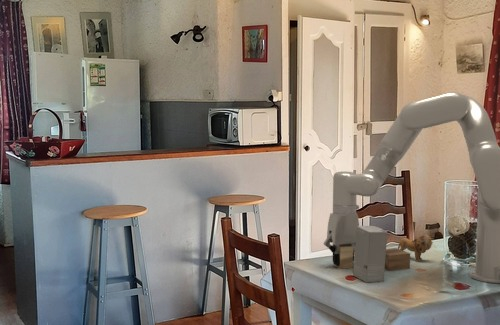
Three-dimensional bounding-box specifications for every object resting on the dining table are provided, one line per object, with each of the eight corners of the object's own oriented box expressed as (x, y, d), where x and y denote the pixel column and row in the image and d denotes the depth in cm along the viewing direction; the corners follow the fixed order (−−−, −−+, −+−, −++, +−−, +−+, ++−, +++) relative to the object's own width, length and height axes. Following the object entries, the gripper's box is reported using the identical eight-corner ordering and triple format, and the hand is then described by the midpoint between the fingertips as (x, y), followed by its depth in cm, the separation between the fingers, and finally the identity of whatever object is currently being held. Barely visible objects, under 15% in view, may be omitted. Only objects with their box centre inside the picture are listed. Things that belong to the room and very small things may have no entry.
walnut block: (409, 268, 196) (410, 253, 195) (389, 270, 193) (389, 255, 193) (395, 262, 203) (395, 247, 203) (375, 264, 200) (375, 249, 200)
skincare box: (352, 275, 187) (353, 225, 186) (372, 273, 190) (373, 224, 188) (366, 283, 179) (367, 231, 178) (387, 281, 182) (388, 229, 180)
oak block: (352, 267, 197) (353, 246, 196) (340, 268, 195) (341, 247, 195) (345, 264, 201) (346, 243, 201) (333, 265, 200) (334, 244, 199)
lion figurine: (434, 261, 206) (435, 235, 205) (426, 264, 202) (427, 237, 201) (396, 253, 216) (397, 229, 215) (388, 256, 212) (389, 231, 211)
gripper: (360, 206, 203) (359, 259, 205) (315, 209, 197) (315, 263, 199) (372, 209, 196) (371, 264, 198) (327, 213, 190) (326, 269, 192)
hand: (343, 263), depth 198 cm, fingers closed on oak block, 4 cm apart
